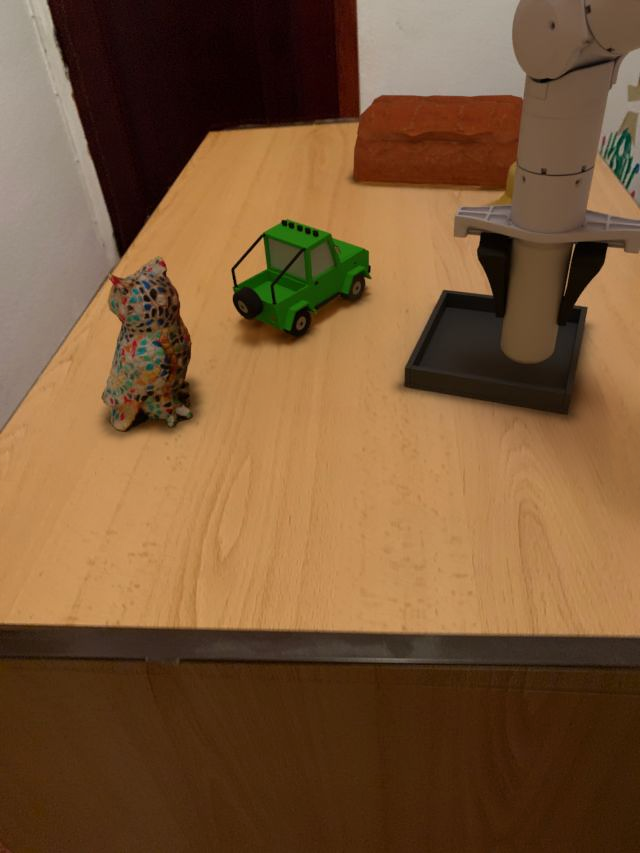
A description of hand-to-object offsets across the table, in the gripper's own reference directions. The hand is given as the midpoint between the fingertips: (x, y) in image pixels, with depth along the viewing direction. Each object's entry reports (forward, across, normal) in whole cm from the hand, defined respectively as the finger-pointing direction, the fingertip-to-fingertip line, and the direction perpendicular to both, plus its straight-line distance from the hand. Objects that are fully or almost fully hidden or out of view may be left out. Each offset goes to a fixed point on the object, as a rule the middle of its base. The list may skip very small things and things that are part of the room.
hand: (532, 316), depth 59 cm
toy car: (+7, +26, -6) cm, 28 cm away
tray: (+7, +3, -4) cm, 8 cm away
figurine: (+7, +33, +14) cm, 36 cm away
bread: (+7, +21, -52) cm, 56 cm away
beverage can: (+4, 0, 0) cm, 4 cm away
